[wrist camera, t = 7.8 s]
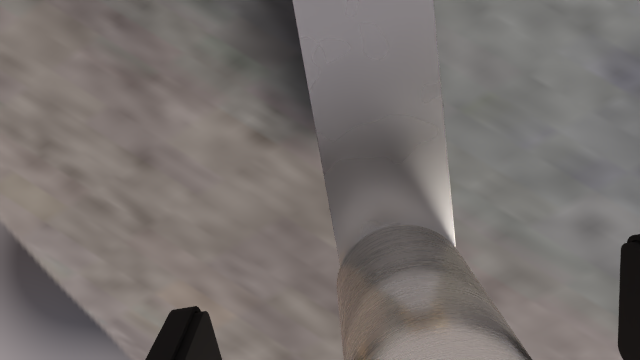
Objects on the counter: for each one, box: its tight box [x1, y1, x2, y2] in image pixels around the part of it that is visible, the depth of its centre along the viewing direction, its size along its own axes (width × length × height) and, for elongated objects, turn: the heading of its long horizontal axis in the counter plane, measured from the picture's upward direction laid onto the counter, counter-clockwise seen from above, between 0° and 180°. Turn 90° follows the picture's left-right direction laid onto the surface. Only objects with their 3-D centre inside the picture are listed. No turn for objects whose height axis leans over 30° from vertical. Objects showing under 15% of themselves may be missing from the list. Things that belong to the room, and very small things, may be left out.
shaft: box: [293, 0, 532, 360], centre depth 8 cm, size 3×17×9 cm, turn 10°
